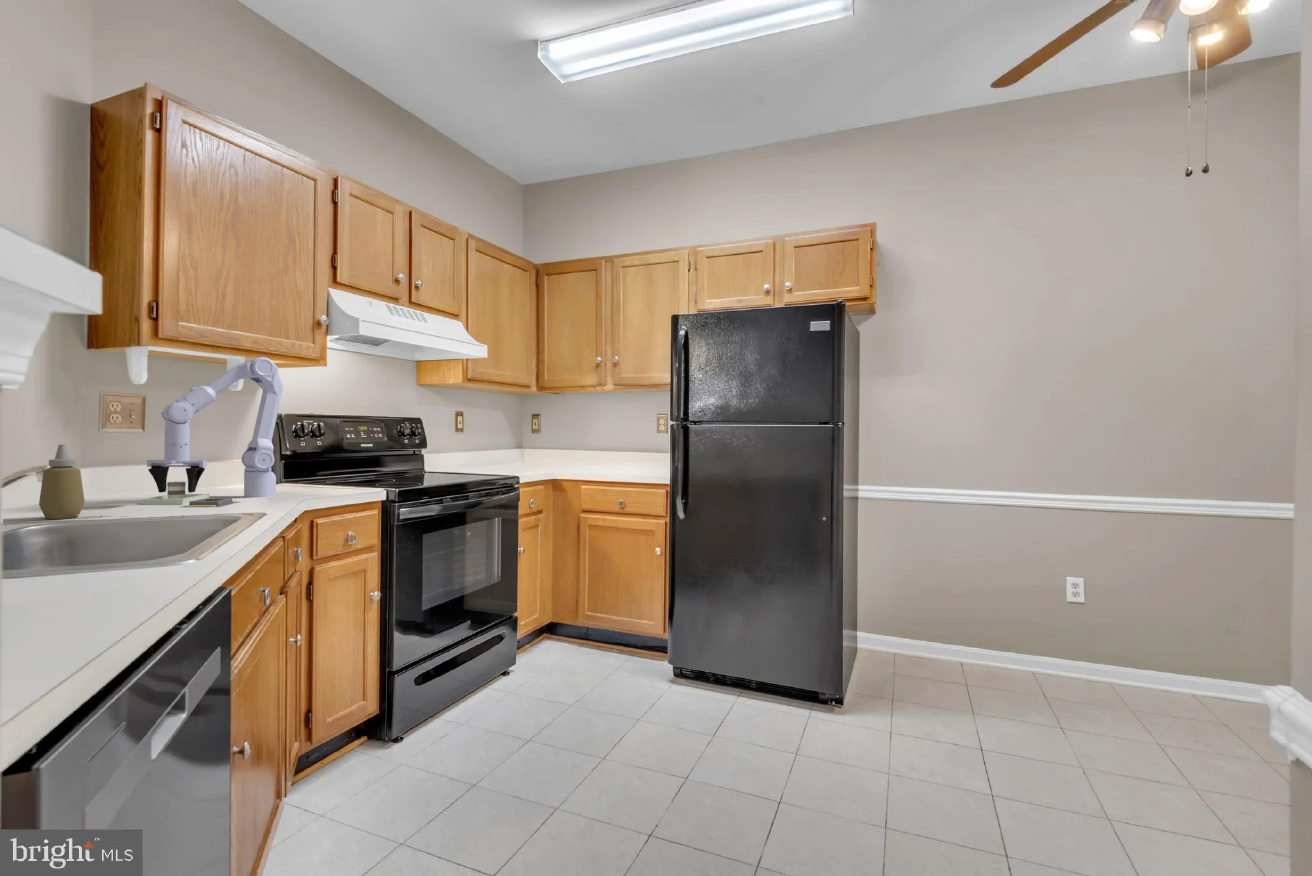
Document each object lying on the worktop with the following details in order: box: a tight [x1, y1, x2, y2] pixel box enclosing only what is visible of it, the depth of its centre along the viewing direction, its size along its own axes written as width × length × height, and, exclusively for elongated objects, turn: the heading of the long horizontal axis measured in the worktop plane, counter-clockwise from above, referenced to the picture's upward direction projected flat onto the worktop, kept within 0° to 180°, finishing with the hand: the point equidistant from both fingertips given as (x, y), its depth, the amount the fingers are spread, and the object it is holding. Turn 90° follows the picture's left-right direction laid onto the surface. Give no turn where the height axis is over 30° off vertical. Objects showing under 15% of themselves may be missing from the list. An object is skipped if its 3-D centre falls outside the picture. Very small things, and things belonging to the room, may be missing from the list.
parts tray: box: [141, 493, 211, 506], centre depth 176 cm, size 13×10×2 cm
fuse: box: [166, 481, 187, 499], centre depth 176 cm, size 4×4×6 cm
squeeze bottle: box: [38, 444, 85, 520], centre depth 151 cm, size 8×8×18 cm
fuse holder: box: [180, 497, 240, 508], centre depth 172 cm, size 12×10×2 cm
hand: (177, 492), depth 176 cm, fingers open, 7 cm apart
